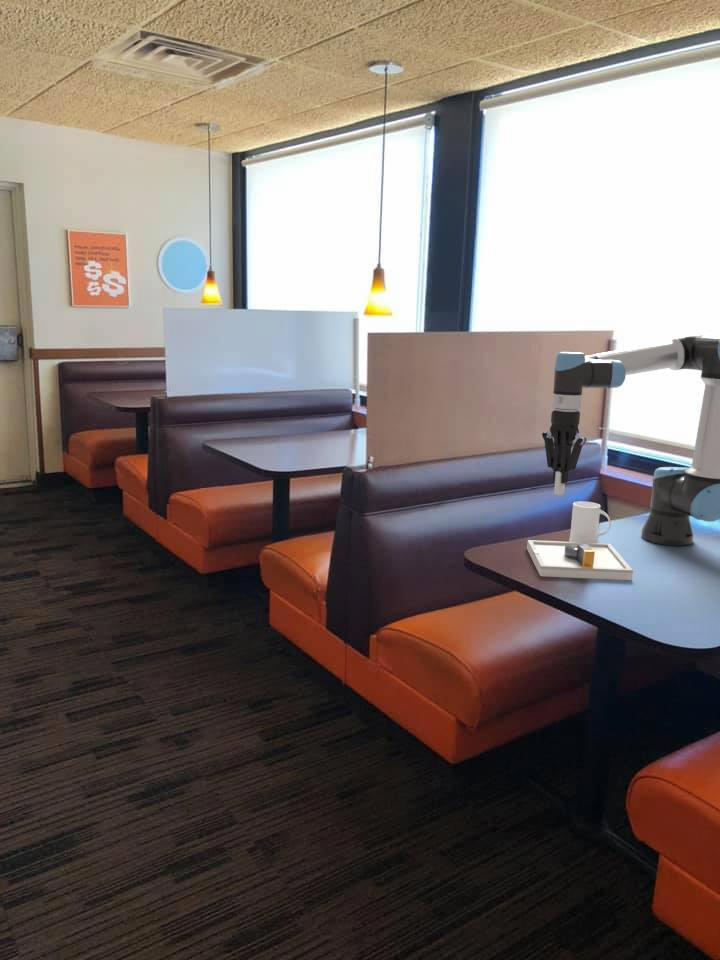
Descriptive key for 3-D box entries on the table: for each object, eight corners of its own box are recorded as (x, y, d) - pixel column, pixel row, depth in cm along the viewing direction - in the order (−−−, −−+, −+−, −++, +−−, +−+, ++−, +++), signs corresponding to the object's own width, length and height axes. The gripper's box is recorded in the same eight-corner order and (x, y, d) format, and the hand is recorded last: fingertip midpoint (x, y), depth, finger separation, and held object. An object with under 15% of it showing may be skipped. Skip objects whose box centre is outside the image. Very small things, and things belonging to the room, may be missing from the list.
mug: (611, 543, 234) (615, 505, 232) (603, 550, 227) (607, 511, 225) (574, 536, 241) (577, 499, 238) (565, 542, 234) (568, 505, 231)
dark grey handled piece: (561, 551, 217) (562, 536, 216) (585, 551, 217) (587, 536, 216) (575, 566, 203) (576, 551, 202) (601, 567, 203) (602, 551, 203)
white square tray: (609, 552, 225) (610, 542, 224) (631, 580, 201) (633, 569, 201) (526, 549, 226) (527, 539, 226) (540, 576, 203) (541, 565, 202)
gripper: (537, 408, 209) (531, 491, 214) (579, 413, 200) (571, 500, 205) (553, 406, 214) (547, 488, 219) (594, 411, 205) (587, 496, 210)
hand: (559, 494), depth 212 cm, fingers closed
